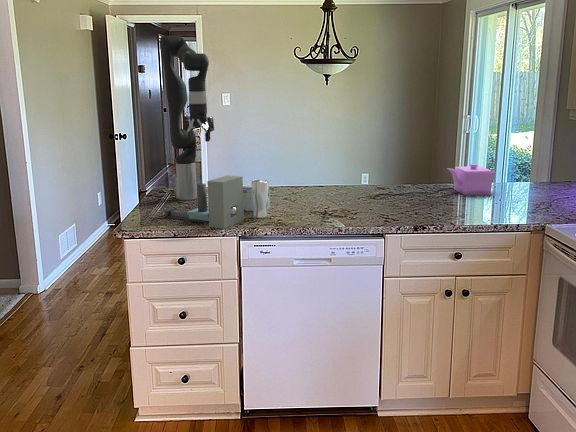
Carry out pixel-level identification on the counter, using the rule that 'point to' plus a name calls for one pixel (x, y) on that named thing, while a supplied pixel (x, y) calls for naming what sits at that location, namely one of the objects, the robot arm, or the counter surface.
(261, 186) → the beer glass
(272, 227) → the counter surface
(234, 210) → the gauge plunger
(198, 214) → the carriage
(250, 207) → the light bulb box
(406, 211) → the counter surface
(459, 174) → the teapot
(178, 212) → the rail
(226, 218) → the end cabinet
